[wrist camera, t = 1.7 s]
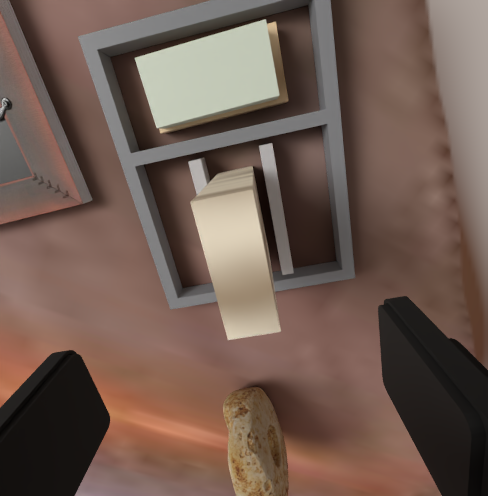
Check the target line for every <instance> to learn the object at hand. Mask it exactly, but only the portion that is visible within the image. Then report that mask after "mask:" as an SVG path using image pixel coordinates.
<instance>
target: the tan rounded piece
mask: <svg viewBox="0 0 488 496" xmlns="http://www.w3.org/2000/svg"><path fill="white" fill-rule="evenodd" d="M223 413H224V418H225V421H226V424H227V427H228V430H229V441H228V465H229V470H230V474H231V478H232V482H233V486H234V490H235V493H236V496H288V470H287V469H288V463H287V453H286V446H285V442H284V436H283V433H282V430H281V428H280V425H279V421H278V418H277V415H276V413H275V409H274V407H273V405H272V403H271V401H270V400H269V398H268V397H267V395H266V394H265V392H264V391H263V390H262V389H261V388H259V387H250V388H243V389H239V390H236V391H234V392H232V393H231V394H229V395H228V397H227V398H226V400H225V402H224V404H223Z"/></svg>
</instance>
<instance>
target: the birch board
mask: <svg viewBox="0 0 488 496" xmlns="http://www.w3.org/2000/svg"><path fill="white" fill-rule="evenodd" d="M190 203H191V206H192V210H193V214H194V217H195V221H196V225H197V228H198V232H199V235H200V239H201V243H202V246H203V250H204V254H205V257H206V261H207V265H208V268H209V272H210V276H211V279H212V283H213V287H214V290H215V294H216V298H217V301H218V305H219V309H220V312H221V316H222V320H223V323H224V327H225V331H226V334H227V338H228V340H231V339H238V338H244V337H250V336H257V335H263V334H270V333H276V332H281V330H280V323H279V316H278V309H277V302H276V295H275V288H274V281H273V274H272V268H271V261H270V254H269V248H268V243H267V238H266V233H265V228H264V222H263V217H262V212H261V207H260V202H259V196H258V191H257V186H256V181H255V176H254V170H253V166H250V167H245V168H240V169H236V170H231V171H226V172H222V173H218V174H217V175H216V176H215V177H214V178H213V179H212V180H211V181H210V182H209V183H208V184H207V185H206V186H205V187H204V188H203V189H202V191H201V192H200V193H199V194H198V195H197V196H196V197H195V198H194V199H193V200H192V201H191V202H190Z"/></svg>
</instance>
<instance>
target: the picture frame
mask: <svg viewBox="0 0 488 496" xmlns="http://www.w3.org/2000/svg"><path fill="white" fill-rule="evenodd" d="M92 200H93V199H92V197H91V195H90V192H89V190H88V188H87V185H86V183H85V180H84V178H83V176H82V173H81V171H80V168H79V166H78V164H77V161H76V159H75V156H74V154H73V152H72V149H71V147H70V144H69V142H68V140H67V137H66V135H65V132H64V130H63V128H62V125H61V123H60V121H59V118H58V116H57V113H56V111H55V109H54V106H53V104H52V101H51V99H50V97H49V94H48V92H47V89H46V87H45V85H44V82H43V80H42V77H41V75H40V73H39V70H38V68H37V65H36V63H35V61H34V58H33V56H32V53H31V51H30V49H29V46H28V44H27V42H26V39H25V37H24V34H23V32H22V30H21V27H20V25H19V22H18V20H17V18H16V15H15V13H14V10H13V8H12V6H11V3H10V1H9V0H0V224H4V223H8V222H12V221H16V220H20V219H24V218H28V217H33V216H37V215H41V214H45V213H49V212H53V211H57V210H61V209H65V208H69V207H73V206H77V205H81V204H84V203H87V202H90V201H92Z"/></svg>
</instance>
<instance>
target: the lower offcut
mask: <svg viewBox="0 0 488 496" xmlns="http://www.w3.org/2000/svg"><path fill="white" fill-rule="evenodd" d="M267 28H268V34H269V39H270V45H271V51H272V56H273V62H274V68H275V73H276V79H277V85H278V90H279V97H278V99H275V100H272V101H268V102H264V103H260V104H257V105H253V106H249V107H245V108H242V109H238V110H234V111H230V112H227V113H223V114H219V115H215V116H211V117H208V118H204V119H200V120H196V121H193V122H189V123H185V124H181V125H178V126H174V127H170V128H166V129H160V128H159V130H160V133H165V134H166V133H170V132H174V131H178V130H182V129H186V128H189V127H193V126H197V125H201V124H205V123H209V122H213V121H217V120H221V119H225V118H229V117H233V116H237V115H241V114H245V113H249V112H253V111H257V110H261V109H265V108H269V107H273V106H276V105H280V104H284V103H287V102H288V94H287V88H286V82H285V76H284V69H283V63H282V57H281V51H280V45H279V38H278V32H277V26H276V22H272V23H269V24H267Z"/></svg>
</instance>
